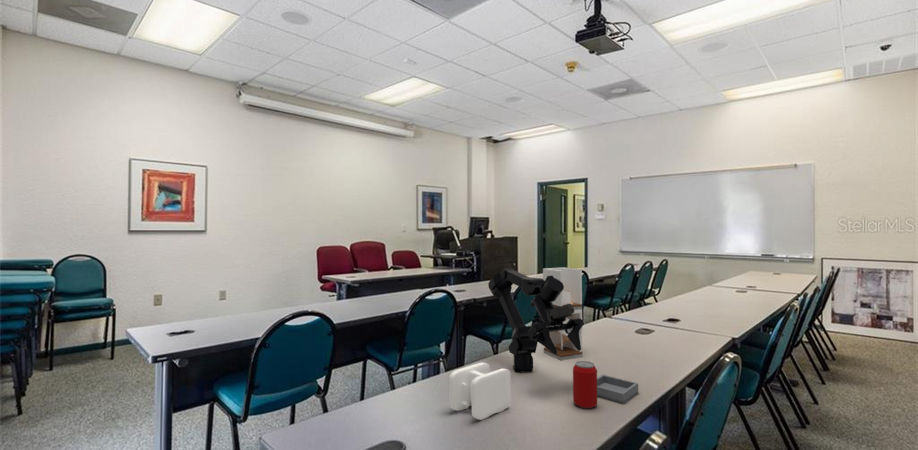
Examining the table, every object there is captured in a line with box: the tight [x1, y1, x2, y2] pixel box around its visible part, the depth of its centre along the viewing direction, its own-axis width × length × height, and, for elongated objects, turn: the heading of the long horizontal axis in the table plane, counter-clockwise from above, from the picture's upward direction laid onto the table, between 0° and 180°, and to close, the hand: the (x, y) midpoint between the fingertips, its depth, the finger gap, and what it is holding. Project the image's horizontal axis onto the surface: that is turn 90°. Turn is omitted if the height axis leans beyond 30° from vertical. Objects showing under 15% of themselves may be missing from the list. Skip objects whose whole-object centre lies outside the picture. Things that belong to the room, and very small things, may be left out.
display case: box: [542, 267, 583, 361], centre depth 170 cm, size 11×11×35 cm
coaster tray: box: [597, 374, 639, 405], centre depth 130 cm, size 12×12×3 cm
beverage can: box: [572, 360, 598, 409], centre depth 122 cm, size 7×7×12 cm
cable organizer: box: [448, 361, 511, 421], centre depth 119 cm, size 15×11×12 cm
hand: (568, 352), depth 129 cm, fingers open, 9 cm apart
